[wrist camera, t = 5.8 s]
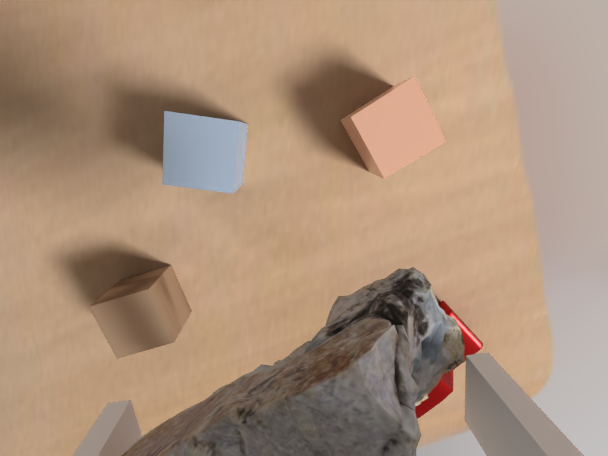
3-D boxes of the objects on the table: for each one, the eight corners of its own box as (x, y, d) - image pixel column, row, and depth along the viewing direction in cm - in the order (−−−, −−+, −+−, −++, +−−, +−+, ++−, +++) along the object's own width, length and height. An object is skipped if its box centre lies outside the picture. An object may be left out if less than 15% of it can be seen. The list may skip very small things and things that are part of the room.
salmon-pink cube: (368, 171, 29) (384, 178, 24) (340, 120, 27) (350, 117, 23) (419, 140, 28) (446, 141, 23) (393, 86, 27) (415, 75, 22)
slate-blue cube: (184, 176, 28) (162, 184, 23) (186, 115, 27) (164, 110, 22) (242, 183, 28) (233, 193, 24) (248, 124, 27) (239, 121, 22)
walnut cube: (143, 324, 32) (117, 358, 27) (120, 279, 30) (88, 306, 26) (191, 310, 32) (174, 342, 27) (171, 264, 30) (148, 289, 25)
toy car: (366, 408, 36) (378, 450, 31) (333, 378, 35) (339, 417, 30) (470, 329, 34) (499, 361, 29) (438, 294, 32) (463, 321, 28)
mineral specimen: (336, 334, 18) (248, 185, 13) (507, 381, 13) (482, 168, 8) (227, 548, 13) (-9, 444, 7) (453, 776, 8) (227, 992, 2)
